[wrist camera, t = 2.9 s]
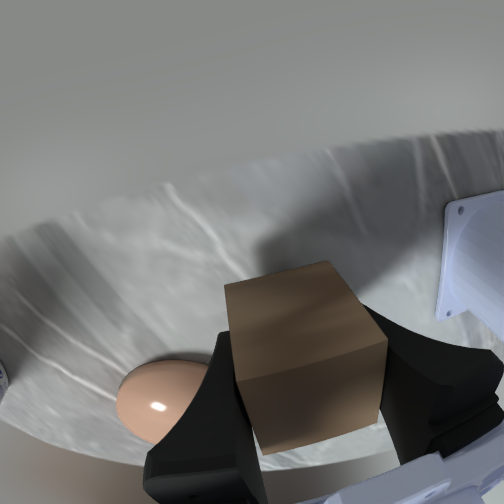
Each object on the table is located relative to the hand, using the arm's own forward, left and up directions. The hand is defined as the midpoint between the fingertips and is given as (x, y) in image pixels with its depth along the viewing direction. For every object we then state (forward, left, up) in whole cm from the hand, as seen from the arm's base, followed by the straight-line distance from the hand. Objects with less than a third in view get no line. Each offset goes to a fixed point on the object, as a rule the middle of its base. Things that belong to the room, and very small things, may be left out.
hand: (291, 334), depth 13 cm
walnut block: (0, 0, -1) cm, 1 cm away
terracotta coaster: (+7, +6, -3) cm, 10 cm away
